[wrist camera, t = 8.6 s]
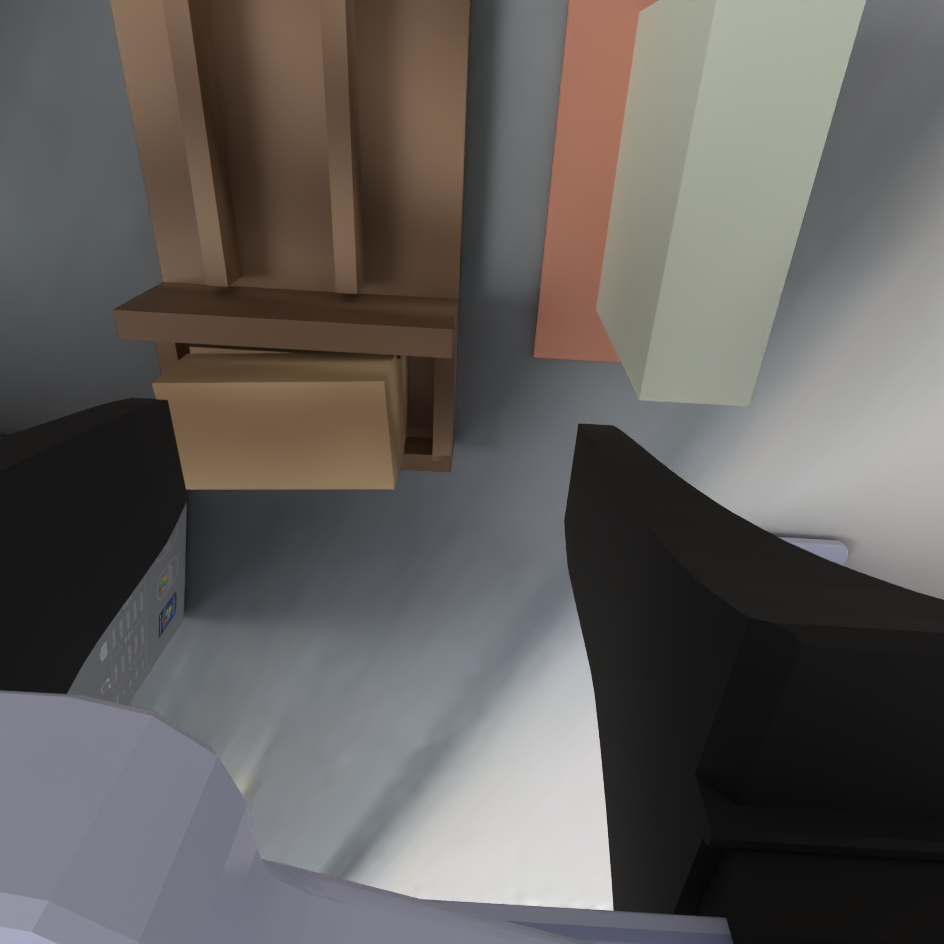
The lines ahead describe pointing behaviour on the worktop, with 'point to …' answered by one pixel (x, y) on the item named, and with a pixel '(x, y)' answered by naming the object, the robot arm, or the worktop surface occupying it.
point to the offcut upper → (285, 420)
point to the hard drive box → (138, 628)
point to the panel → (716, 185)
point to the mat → (584, 177)
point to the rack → (305, 183)
